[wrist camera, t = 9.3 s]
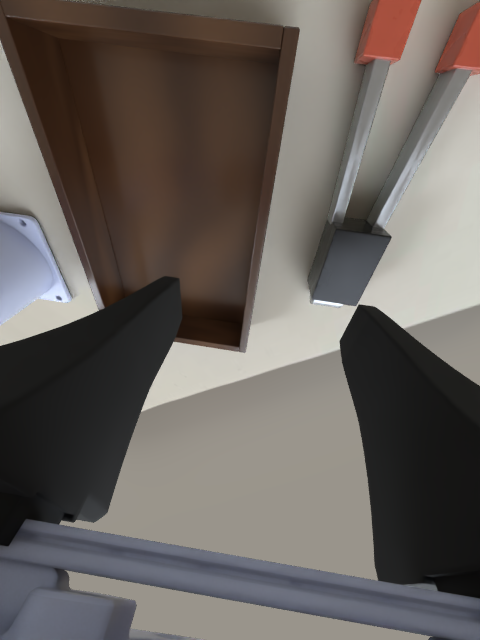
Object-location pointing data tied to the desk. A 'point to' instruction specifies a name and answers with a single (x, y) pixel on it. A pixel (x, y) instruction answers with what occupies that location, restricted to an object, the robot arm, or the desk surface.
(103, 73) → the tray
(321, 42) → the desk surface
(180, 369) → the desk surface
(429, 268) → the desk surface
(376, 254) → the tongs
